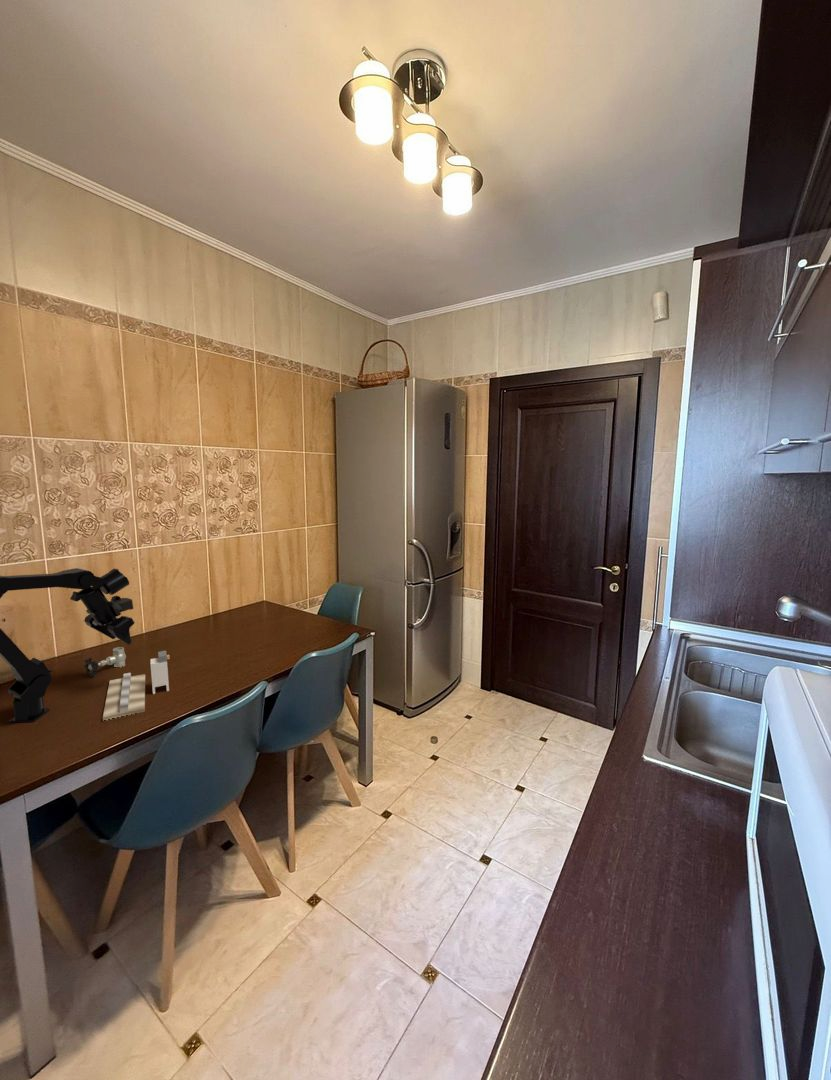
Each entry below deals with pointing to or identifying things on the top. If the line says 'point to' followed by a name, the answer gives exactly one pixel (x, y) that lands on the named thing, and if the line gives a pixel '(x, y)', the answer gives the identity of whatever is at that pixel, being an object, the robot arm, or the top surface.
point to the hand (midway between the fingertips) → (122, 640)
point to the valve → (106, 661)
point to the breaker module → (160, 671)
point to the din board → (117, 696)
